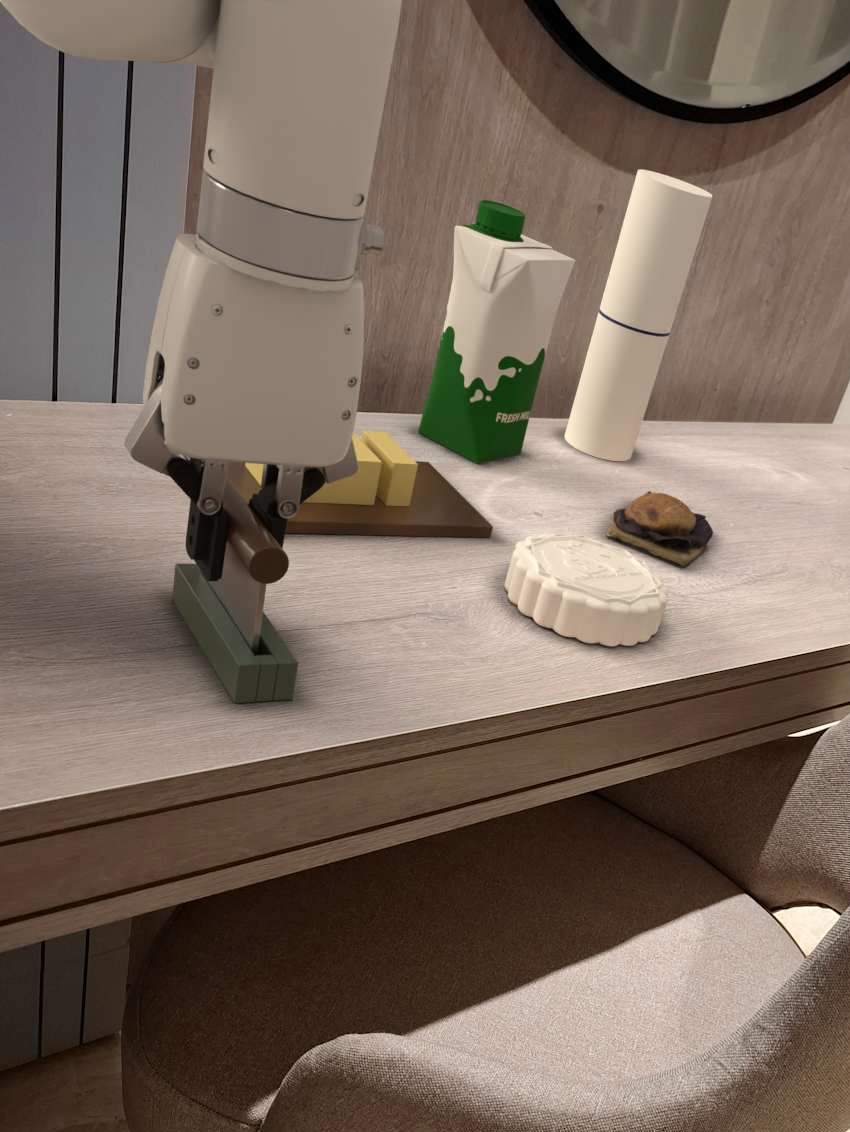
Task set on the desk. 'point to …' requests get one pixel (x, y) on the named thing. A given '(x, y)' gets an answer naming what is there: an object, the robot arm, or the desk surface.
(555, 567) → the mooncake
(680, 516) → the open sandwich
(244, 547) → the butter cutter
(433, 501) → the butter board
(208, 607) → the holder
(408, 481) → the butter slice
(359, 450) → the butter block
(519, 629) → the desk surface
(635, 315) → the cylindrical container
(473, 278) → the milk carton
